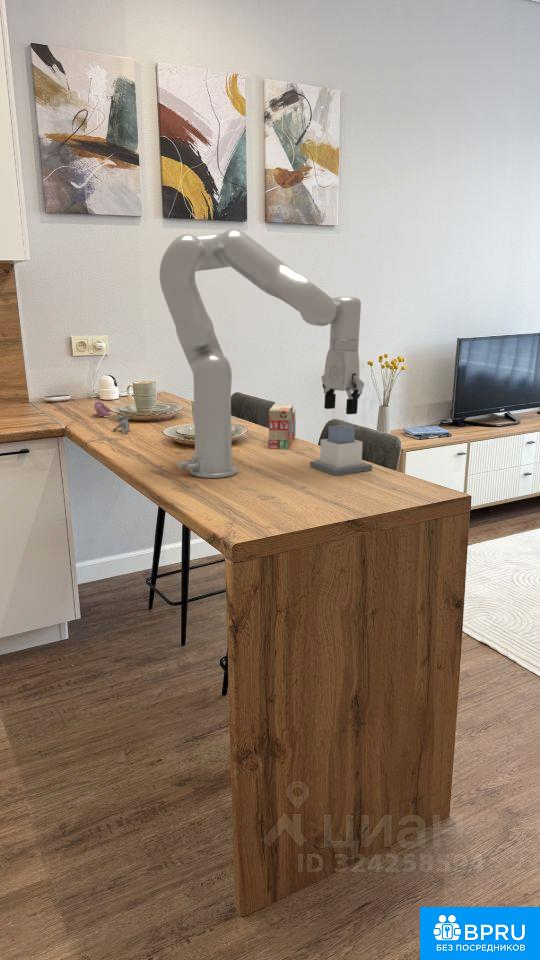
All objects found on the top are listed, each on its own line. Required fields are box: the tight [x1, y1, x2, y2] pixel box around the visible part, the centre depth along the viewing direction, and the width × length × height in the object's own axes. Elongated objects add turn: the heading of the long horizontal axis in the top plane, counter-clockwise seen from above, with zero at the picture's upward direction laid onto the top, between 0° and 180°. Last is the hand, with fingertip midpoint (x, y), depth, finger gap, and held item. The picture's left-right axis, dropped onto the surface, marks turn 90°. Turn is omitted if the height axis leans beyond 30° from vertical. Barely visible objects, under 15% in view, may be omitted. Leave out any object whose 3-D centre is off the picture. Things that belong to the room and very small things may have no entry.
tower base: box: [309, 438, 373, 477], centre depth 189 cm, size 12×12×8 cm
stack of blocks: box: [268, 403, 297, 450], centre depth 223 cm, size 21×6×12 cm, turn 172°
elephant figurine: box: [112, 412, 136, 435], centre depth 239 cm, size 10×6×9 cm
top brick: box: [327, 424, 356, 444], centre depth 188 cm, size 5×5×5 cm
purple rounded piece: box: [93, 401, 112, 417], centre depth 271 cm, size 10×5×7 cm, turn 7°
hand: (340, 411), depth 186 cm, fingers open, 9 cm apart
